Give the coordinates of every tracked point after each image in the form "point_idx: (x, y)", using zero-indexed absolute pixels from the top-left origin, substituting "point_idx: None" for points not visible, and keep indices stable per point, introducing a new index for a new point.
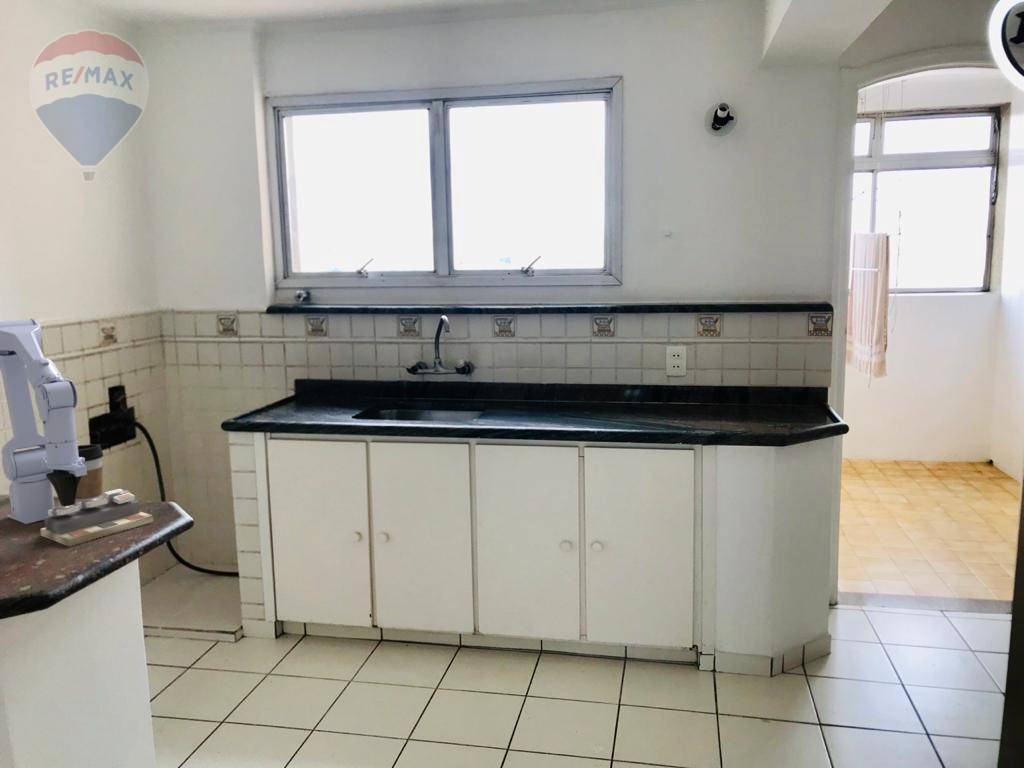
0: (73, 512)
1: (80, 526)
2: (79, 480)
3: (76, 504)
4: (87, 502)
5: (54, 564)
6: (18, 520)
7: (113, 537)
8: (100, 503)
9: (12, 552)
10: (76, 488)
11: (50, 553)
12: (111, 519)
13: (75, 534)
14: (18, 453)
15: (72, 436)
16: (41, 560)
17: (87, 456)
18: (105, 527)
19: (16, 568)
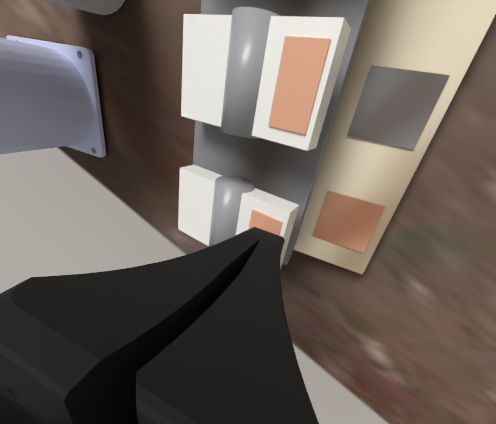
0: (222, 154)
1: (312, 188)
2: (294, 361)
3: (79, 3)
4: (258, 124)
5: (436, 369)
6: (75, 148)
7: (470, 149)
8: (331, 84)
9: None
10: (280, 298)
11: (349, 305)
12: (357, 45)
13: (349, 238)
14: None
15: None
16: (369, 344)
17: None
18: (415, 142)
19: (351, 379)
